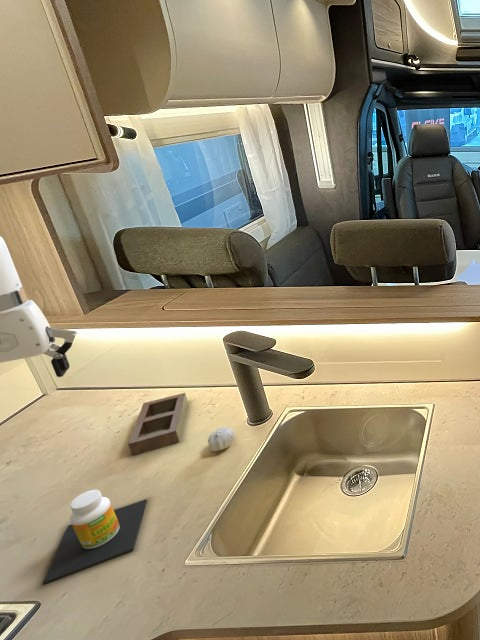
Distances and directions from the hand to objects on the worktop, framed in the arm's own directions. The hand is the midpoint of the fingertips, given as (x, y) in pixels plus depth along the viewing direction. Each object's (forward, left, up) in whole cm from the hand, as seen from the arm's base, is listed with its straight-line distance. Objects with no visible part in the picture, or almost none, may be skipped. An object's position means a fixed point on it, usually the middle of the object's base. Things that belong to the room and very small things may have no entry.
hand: (28, 380), depth 80 cm
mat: (+8, -18, -28) cm, 34 cm away
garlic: (+27, -2, -28) cm, 39 cm away
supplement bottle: (+8, -18, -28) cm, 34 cm away
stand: (+13, +13, -28) cm, 34 cm away
